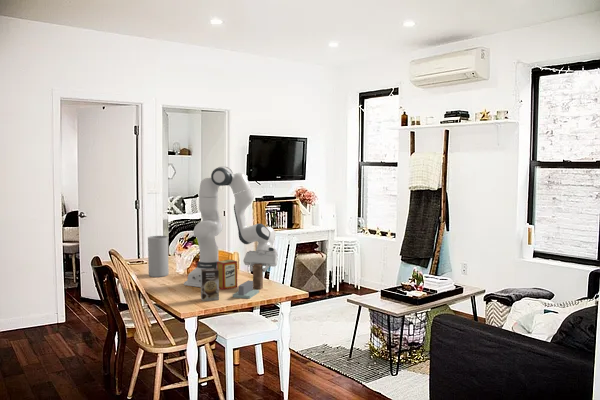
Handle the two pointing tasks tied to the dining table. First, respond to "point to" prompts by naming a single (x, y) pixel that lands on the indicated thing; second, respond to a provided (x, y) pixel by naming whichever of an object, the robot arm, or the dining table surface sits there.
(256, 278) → the oak post
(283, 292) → the dining table surface
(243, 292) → the rail
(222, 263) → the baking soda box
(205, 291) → the coffee box
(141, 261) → the dining table surface
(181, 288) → the dining table surface
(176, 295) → the dining table surface
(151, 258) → the cylinder vase
